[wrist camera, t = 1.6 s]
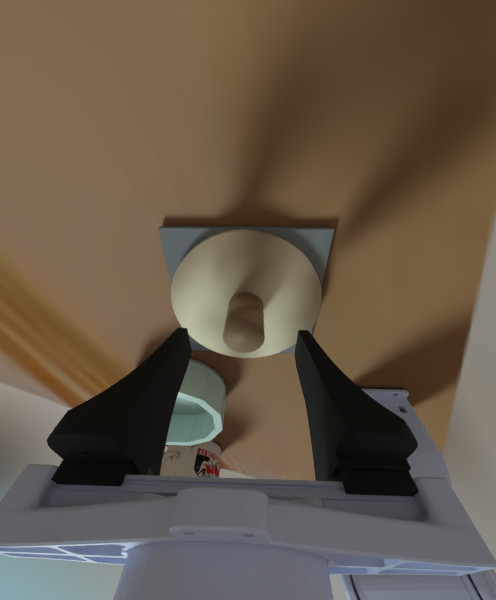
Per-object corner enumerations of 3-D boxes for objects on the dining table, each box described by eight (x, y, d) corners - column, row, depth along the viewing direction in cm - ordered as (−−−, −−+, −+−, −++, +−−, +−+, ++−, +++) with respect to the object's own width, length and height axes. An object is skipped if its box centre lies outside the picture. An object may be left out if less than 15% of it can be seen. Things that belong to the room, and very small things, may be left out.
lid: (334, 229, 14) (361, 253, 11) (307, 353, 21) (318, 393, 17) (159, 227, 15) (127, 250, 11) (186, 350, 21) (172, 389, 18)
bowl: (223, 356, 23) (217, 391, 19) (228, 413, 29) (224, 446, 25) (120, 354, 23) (97, 387, 20) (147, 410, 29) (133, 443, 26)
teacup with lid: (232, 455, 36) (224, 565, 26) (187, 462, 38) (163, 566, 28) (195, 420, 30) (166, 545, 20) (144, 431, 32) (95, 549, 22)
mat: (331, 227, 15) (334, 229, 14) (306, 348, 22) (307, 353, 21) (162, 225, 15) (158, 228, 15) (188, 346, 22) (186, 350, 21)
